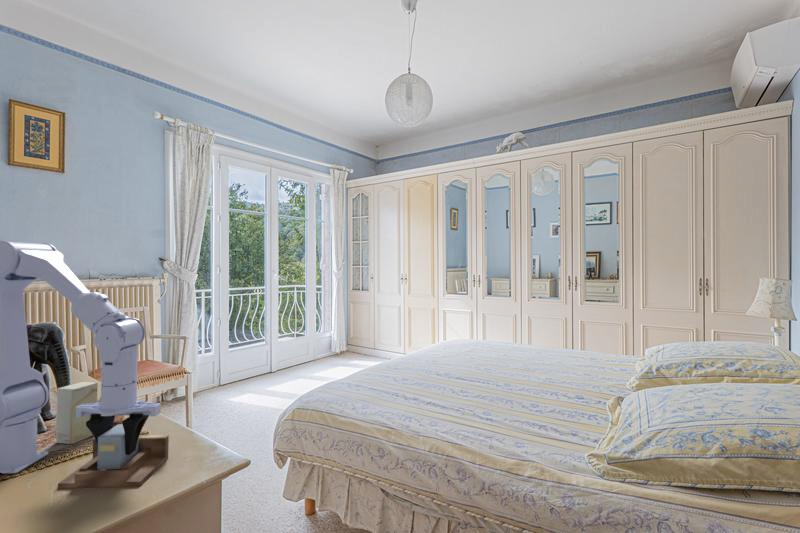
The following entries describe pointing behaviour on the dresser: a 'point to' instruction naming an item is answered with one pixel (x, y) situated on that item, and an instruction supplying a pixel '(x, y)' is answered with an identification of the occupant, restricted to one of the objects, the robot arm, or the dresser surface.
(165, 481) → the dresser surface
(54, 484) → the dresser surface
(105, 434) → the cabinet block
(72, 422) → the skincare box
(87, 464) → the rack
